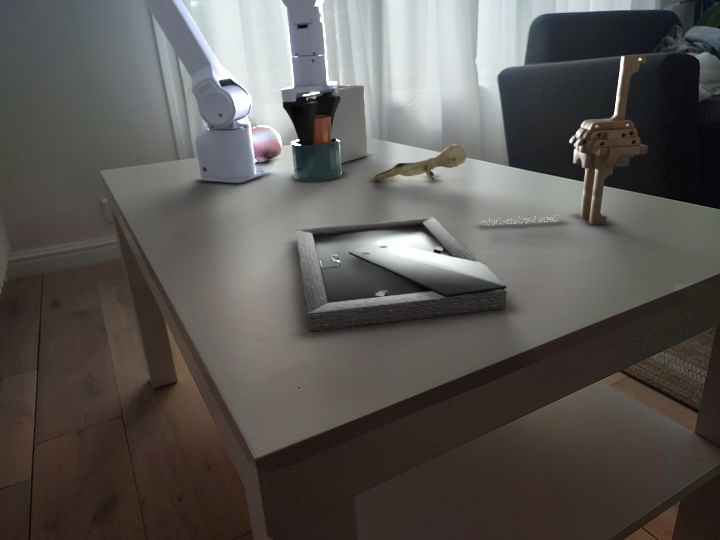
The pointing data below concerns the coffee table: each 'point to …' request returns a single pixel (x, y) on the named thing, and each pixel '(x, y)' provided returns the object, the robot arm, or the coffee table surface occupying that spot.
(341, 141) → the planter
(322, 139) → the cup
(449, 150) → the figurine
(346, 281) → the picture frame
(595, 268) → the coffee table surface
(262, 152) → the onion
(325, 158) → the base cup
